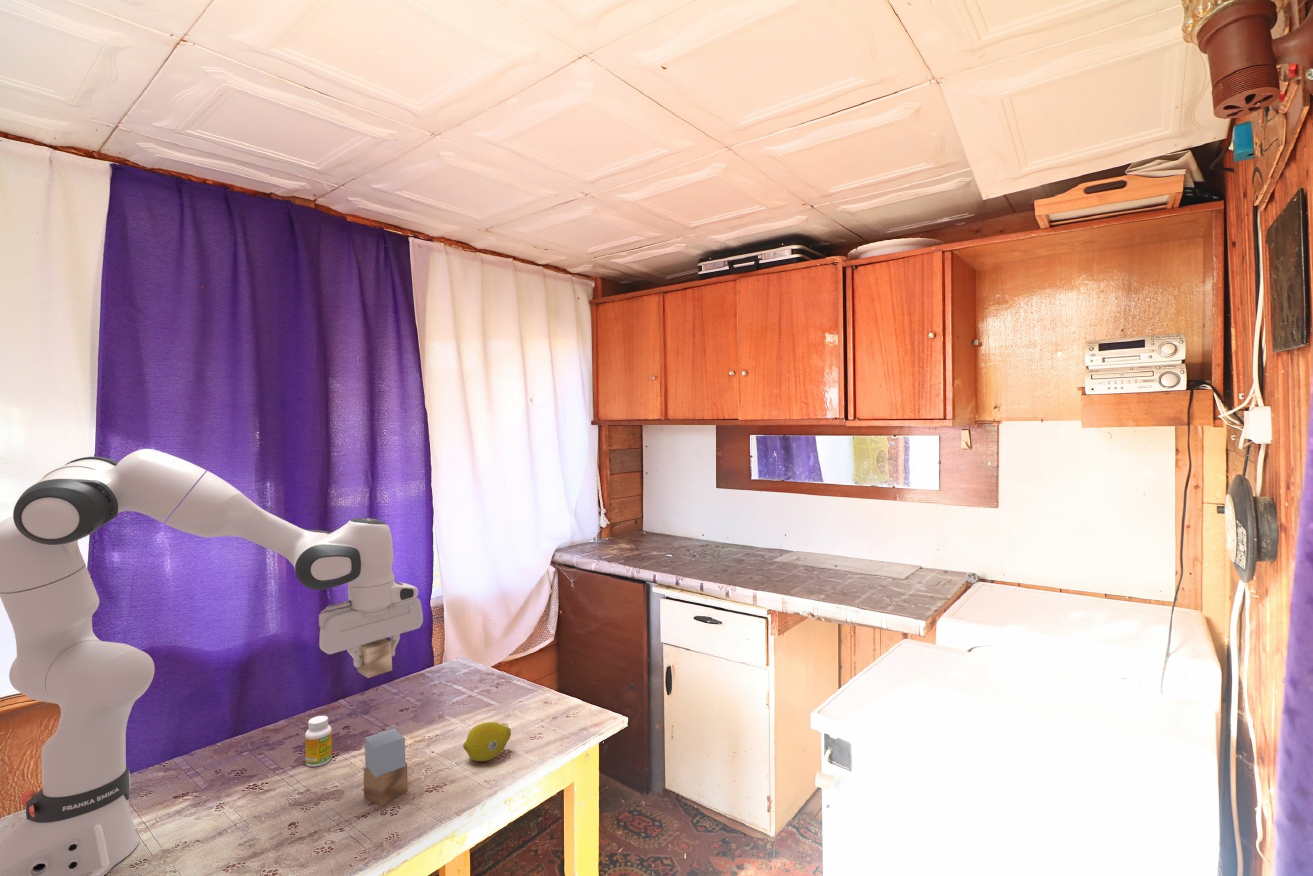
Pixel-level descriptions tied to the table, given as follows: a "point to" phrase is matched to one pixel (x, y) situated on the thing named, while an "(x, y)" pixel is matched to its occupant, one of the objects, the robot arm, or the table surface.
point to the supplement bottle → (318, 742)
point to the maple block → (375, 658)
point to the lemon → (486, 741)
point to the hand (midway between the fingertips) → (374, 661)
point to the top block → (384, 752)
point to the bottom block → (385, 785)
